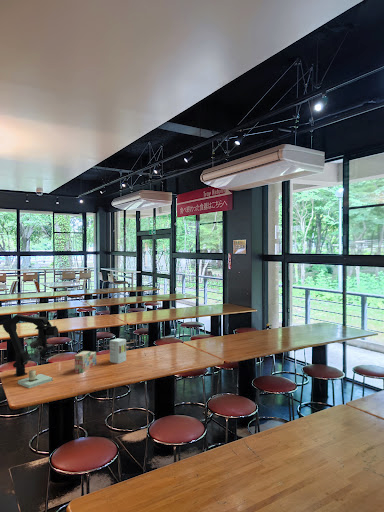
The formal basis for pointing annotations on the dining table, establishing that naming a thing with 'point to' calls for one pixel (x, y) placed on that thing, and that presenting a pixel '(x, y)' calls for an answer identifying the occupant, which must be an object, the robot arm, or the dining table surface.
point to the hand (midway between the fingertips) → (42, 358)
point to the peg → (32, 375)
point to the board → (39, 380)
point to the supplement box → (118, 350)
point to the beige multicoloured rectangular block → (84, 361)
